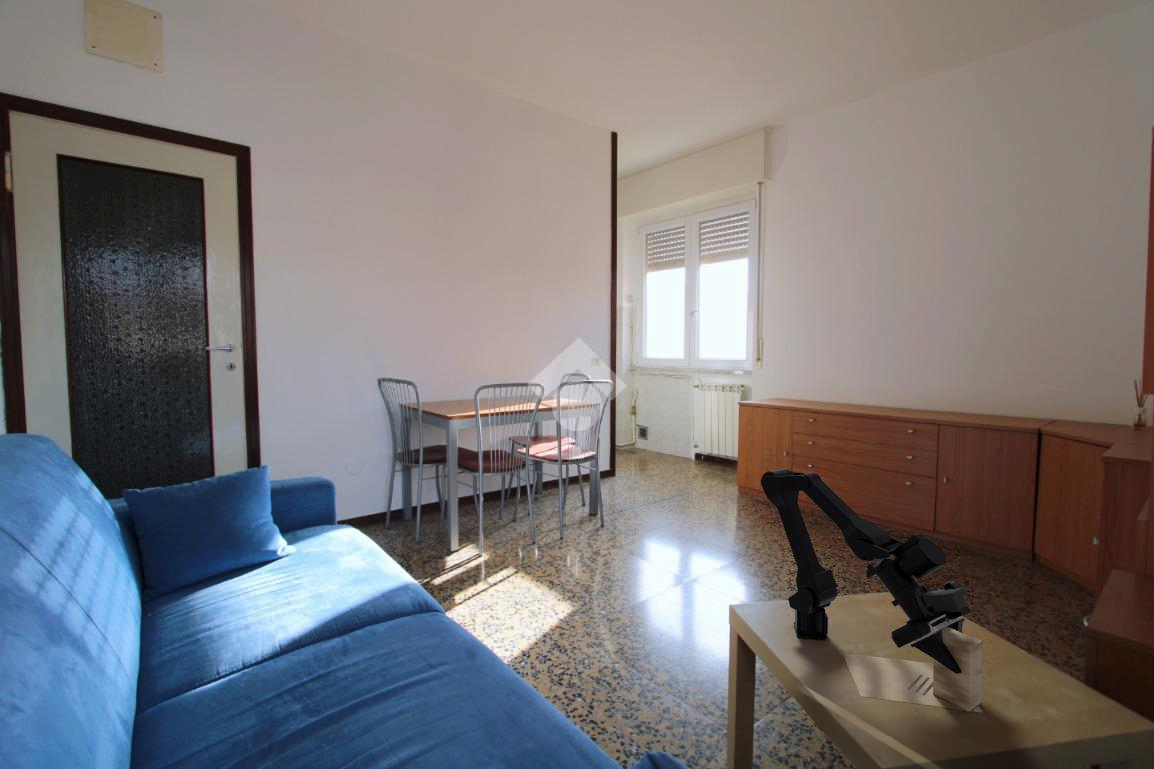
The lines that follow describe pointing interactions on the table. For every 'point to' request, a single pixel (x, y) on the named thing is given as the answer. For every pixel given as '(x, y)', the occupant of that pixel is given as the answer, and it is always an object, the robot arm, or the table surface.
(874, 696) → the white flat sheet
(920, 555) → the robot arm
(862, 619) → the table surface
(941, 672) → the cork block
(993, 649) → the table surface
